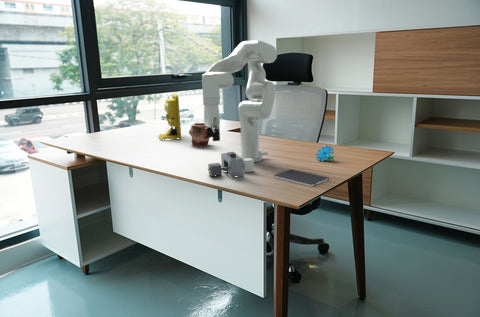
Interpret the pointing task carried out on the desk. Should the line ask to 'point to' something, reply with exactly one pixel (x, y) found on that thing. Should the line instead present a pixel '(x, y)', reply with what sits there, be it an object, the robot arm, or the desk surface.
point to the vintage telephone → (172, 118)
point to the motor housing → (232, 163)
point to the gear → (325, 153)
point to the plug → (217, 170)
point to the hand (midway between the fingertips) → (213, 138)
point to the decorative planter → (199, 134)
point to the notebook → (301, 177)
